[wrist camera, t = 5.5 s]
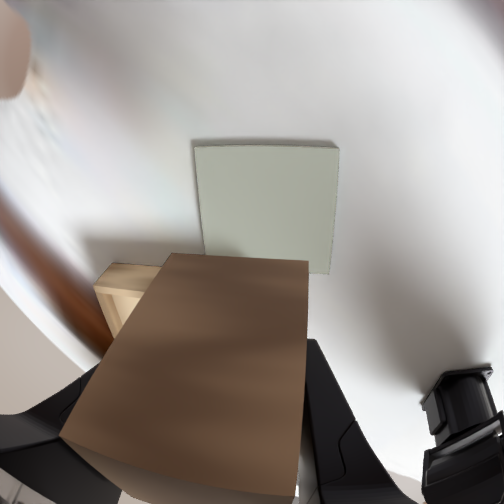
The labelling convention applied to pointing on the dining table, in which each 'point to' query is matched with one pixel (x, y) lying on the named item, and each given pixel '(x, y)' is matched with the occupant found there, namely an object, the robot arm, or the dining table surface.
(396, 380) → the dining table surface
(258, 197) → the pad
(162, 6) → the dining table surface
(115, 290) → the oak box
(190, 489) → the walnut block
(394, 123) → the dining table surface
